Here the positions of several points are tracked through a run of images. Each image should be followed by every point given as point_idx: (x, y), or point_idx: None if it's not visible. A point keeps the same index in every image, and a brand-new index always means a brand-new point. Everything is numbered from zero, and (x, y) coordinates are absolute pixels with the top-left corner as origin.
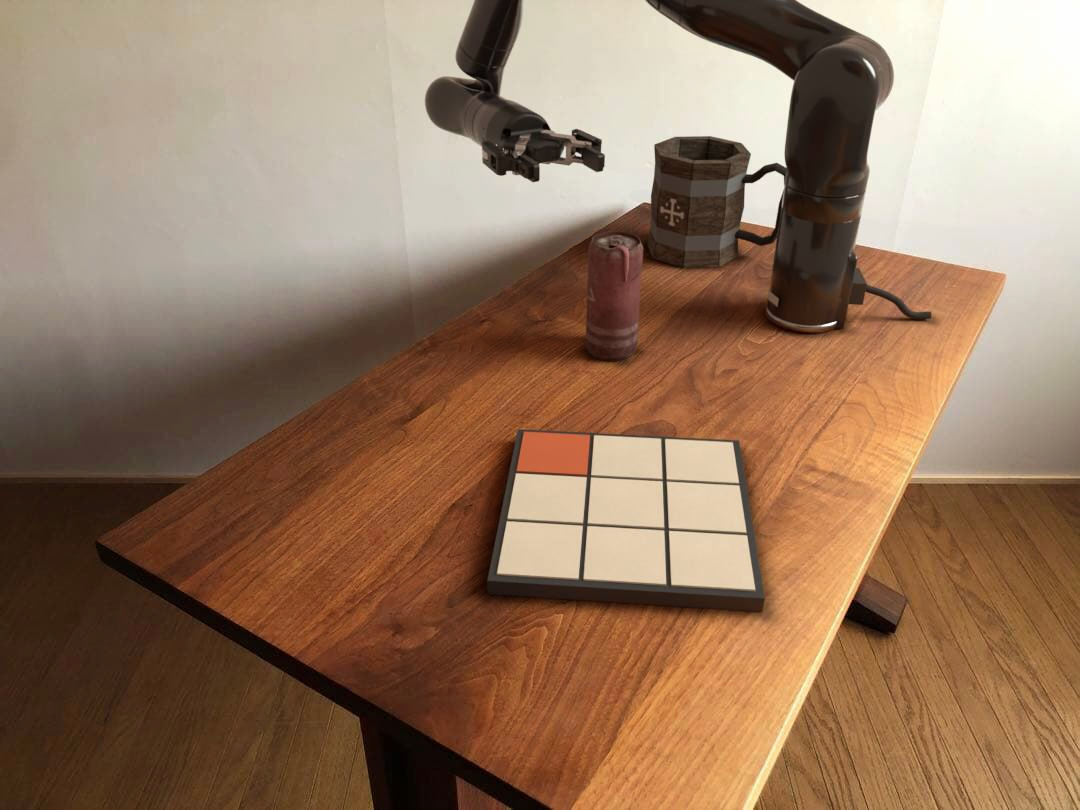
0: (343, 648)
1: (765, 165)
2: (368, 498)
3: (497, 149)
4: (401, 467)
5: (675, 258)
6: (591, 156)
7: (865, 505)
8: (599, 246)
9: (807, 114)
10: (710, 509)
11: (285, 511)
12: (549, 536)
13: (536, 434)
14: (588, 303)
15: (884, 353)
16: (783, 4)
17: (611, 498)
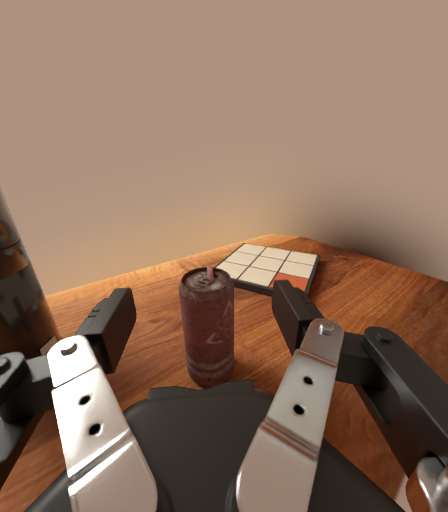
0: (361, 258)
1: None
2: (379, 293)
3: (417, 386)
4: (369, 304)
5: None
6: (121, 315)
7: (186, 259)
8: (225, 279)
9: None
10: (240, 257)
11: (419, 296)
12: (298, 259)
13: None
14: (233, 332)
15: (57, 310)
16: None
17: (272, 264)
